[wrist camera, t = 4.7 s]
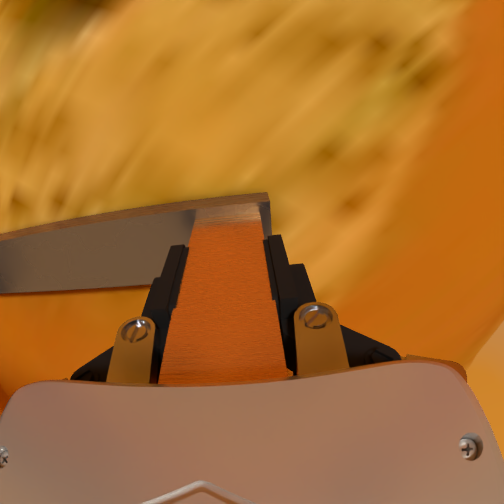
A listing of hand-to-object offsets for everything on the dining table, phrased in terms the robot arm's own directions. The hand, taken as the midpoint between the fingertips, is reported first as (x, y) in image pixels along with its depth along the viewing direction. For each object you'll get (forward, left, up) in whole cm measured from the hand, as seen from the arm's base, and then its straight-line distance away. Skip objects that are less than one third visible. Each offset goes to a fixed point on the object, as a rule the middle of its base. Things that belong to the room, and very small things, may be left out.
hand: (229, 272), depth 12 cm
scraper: (0, -10, -4) cm, 11 cm away
